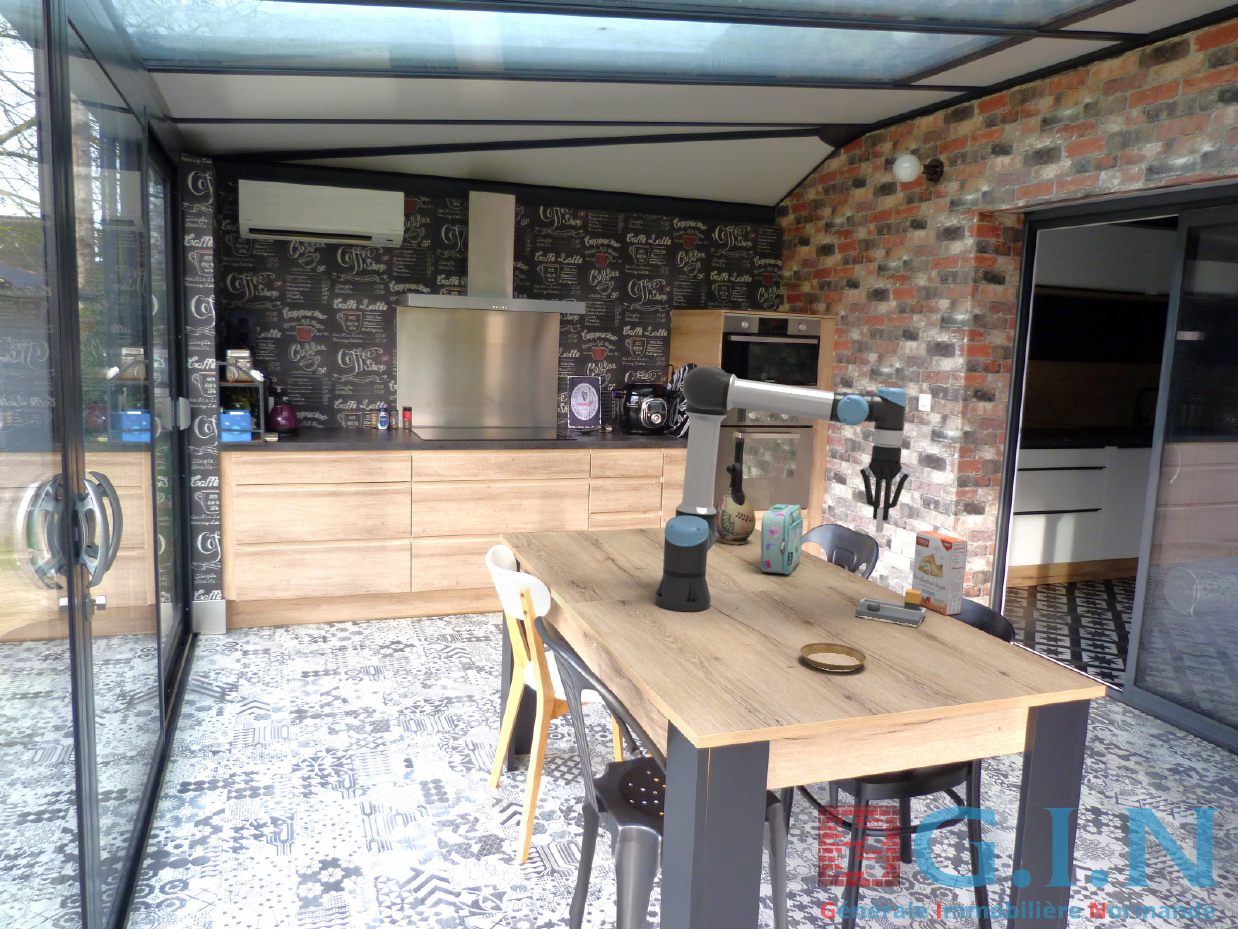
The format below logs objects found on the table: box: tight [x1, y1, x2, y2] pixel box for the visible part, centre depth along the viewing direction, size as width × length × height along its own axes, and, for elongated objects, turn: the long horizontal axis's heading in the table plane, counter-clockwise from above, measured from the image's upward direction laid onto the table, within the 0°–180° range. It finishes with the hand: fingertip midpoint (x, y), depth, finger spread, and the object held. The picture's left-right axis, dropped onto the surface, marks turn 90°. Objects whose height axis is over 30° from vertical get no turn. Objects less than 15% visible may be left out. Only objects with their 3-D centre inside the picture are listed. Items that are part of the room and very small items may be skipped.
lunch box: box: [760, 503, 804, 575], centre depth 286 cm, size 27×10×21 cm, turn 160°
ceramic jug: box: [715, 462, 756, 546], centre depth 321 cm, size 17×15×30 cm
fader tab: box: [904, 588, 922, 611], centre depth 237 cm, size 3×4×5 cm
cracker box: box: [911, 530, 968, 616], centre depth 247 cm, size 14×6×21 cm, turn 23°
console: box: [855, 597, 928, 627], centre depth 238 cm, size 14×17×4 cm
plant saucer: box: [799, 642, 868, 671], centre depth 199 cm, size 15×15×3 cm
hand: (879, 531), depth 239 cm, fingers closed
